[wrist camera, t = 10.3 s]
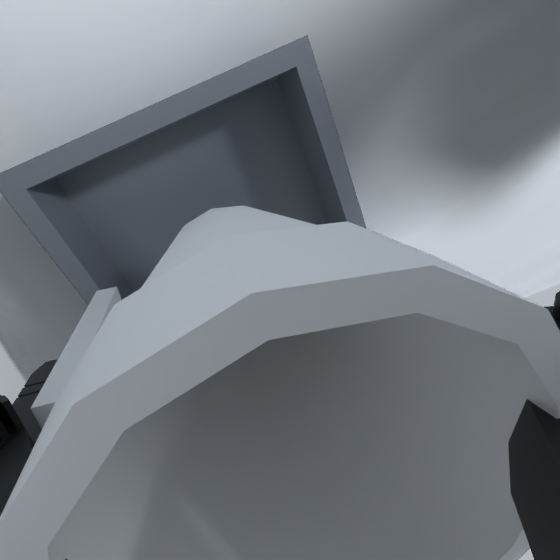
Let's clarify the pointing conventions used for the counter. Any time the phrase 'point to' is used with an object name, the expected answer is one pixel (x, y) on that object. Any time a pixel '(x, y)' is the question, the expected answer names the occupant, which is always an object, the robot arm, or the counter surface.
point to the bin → (187, 170)
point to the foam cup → (290, 407)
